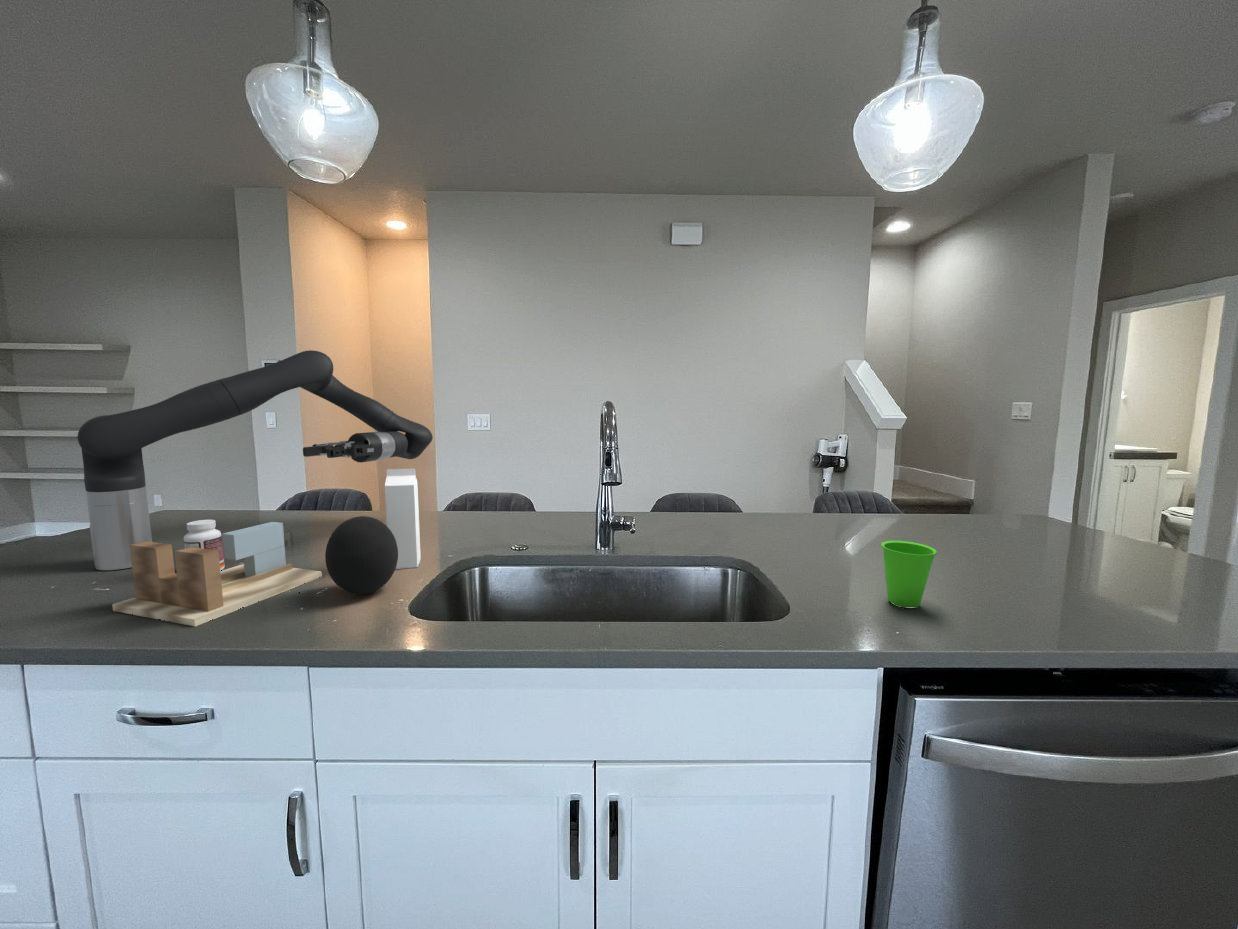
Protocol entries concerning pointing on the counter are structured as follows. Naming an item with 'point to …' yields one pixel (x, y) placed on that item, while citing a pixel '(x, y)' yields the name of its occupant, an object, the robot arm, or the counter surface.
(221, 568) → the pill bottle
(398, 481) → the milk
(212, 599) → the jig
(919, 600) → the cup
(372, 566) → the decorative egg
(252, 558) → the sliding plate
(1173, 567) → the counter surface
